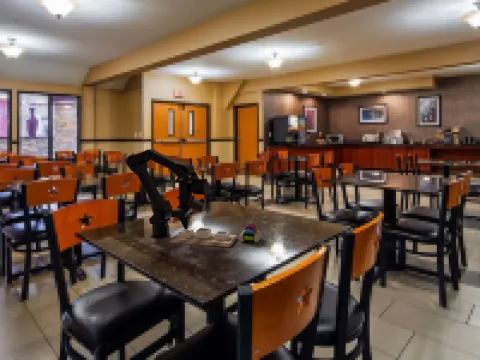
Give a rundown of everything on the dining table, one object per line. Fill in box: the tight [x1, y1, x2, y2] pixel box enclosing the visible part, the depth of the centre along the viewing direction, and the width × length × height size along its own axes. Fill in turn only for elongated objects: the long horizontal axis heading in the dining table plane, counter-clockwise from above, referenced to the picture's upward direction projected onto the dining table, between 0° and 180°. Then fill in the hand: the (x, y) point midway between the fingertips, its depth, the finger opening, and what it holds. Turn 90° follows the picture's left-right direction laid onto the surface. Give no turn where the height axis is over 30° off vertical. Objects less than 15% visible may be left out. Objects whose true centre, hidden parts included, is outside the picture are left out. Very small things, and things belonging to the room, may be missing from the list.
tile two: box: [195, 227, 212, 240], centre depth 147 cm, size 5×5×3 cm
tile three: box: [214, 230, 230, 241], centre depth 145 cm, size 5×5×3 cm
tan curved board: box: [169, 231, 238, 248], centre depth 147 cm, size 26×12×2 cm, turn 77°
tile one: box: [177, 228, 195, 238], centre depth 149 cm, size 5×5×3 cm
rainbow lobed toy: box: [239, 223, 263, 244], centre depth 147 cm, size 8×10×7 cm
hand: (186, 229), depth 149 cm, fingers closed
